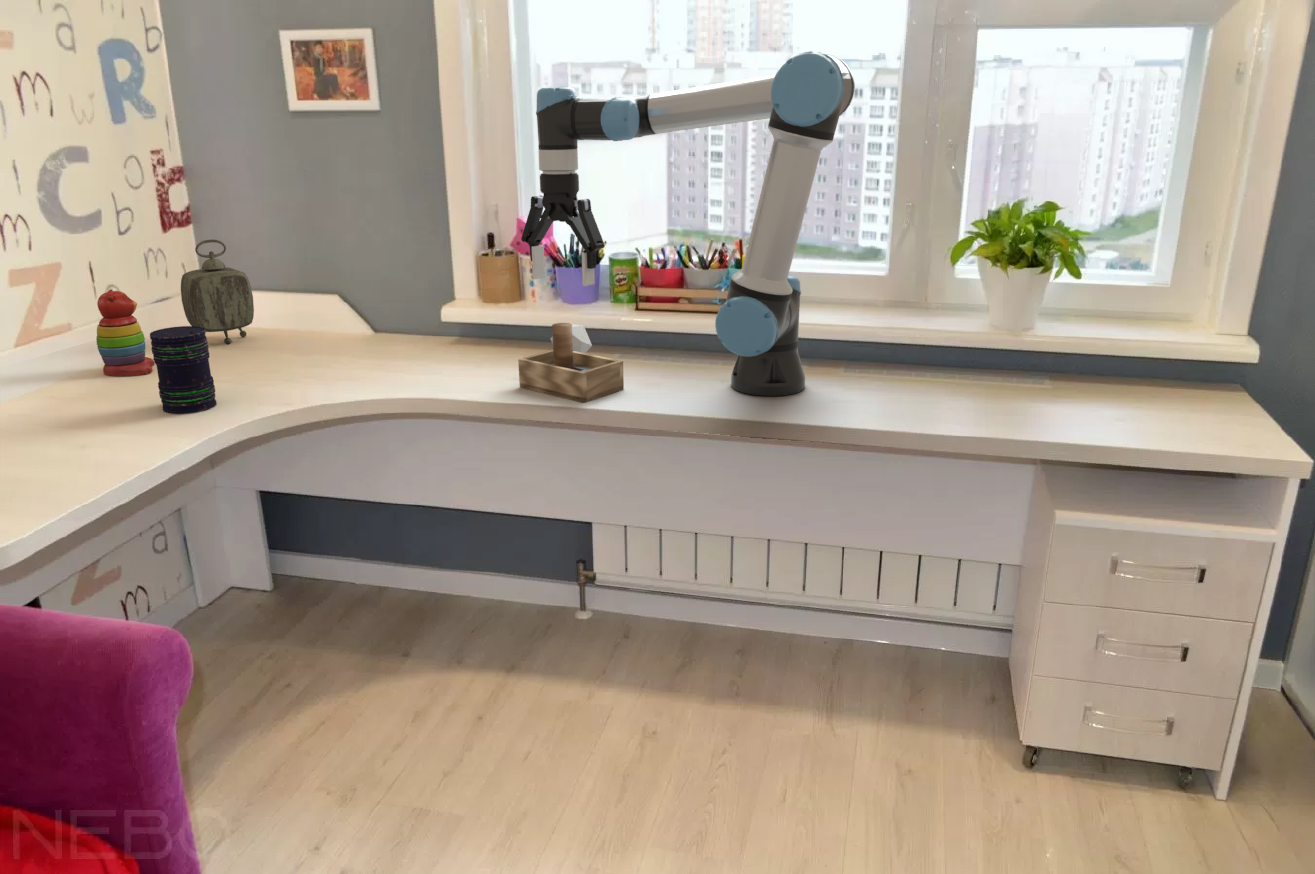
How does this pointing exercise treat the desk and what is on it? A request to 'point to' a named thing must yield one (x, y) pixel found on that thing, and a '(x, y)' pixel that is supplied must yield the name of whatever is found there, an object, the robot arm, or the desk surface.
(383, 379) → the desk surface
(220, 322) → the tabletop clock
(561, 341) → the peg
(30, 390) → the desk surface
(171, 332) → the storage jar
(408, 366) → the desk surface
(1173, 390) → the desk surface
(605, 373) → the box
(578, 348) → the die
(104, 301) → the bird stacking toy
